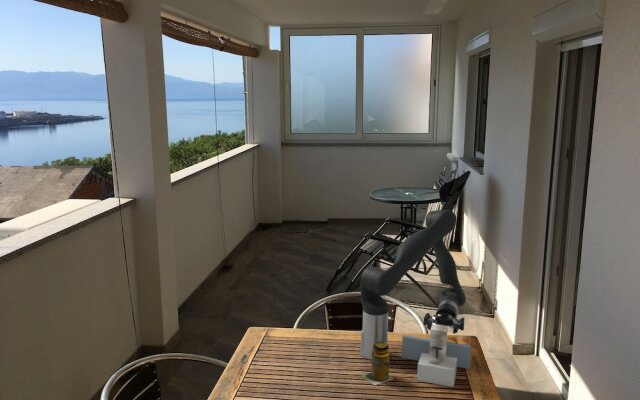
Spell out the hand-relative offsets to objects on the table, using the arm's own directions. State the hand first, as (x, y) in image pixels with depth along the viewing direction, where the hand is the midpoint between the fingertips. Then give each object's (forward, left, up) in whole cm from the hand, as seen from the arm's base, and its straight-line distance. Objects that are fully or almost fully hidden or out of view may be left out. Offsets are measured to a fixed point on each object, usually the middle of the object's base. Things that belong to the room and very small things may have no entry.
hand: (441, 329), depth 189 cm
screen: (-2, +3, -14) cm, 15 cm away
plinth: (0, -8, -14) cm, 16 cm away
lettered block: (0, -8, -8) cm, 11 cm away
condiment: (-19, -15, -14) cm, 28 cm away
